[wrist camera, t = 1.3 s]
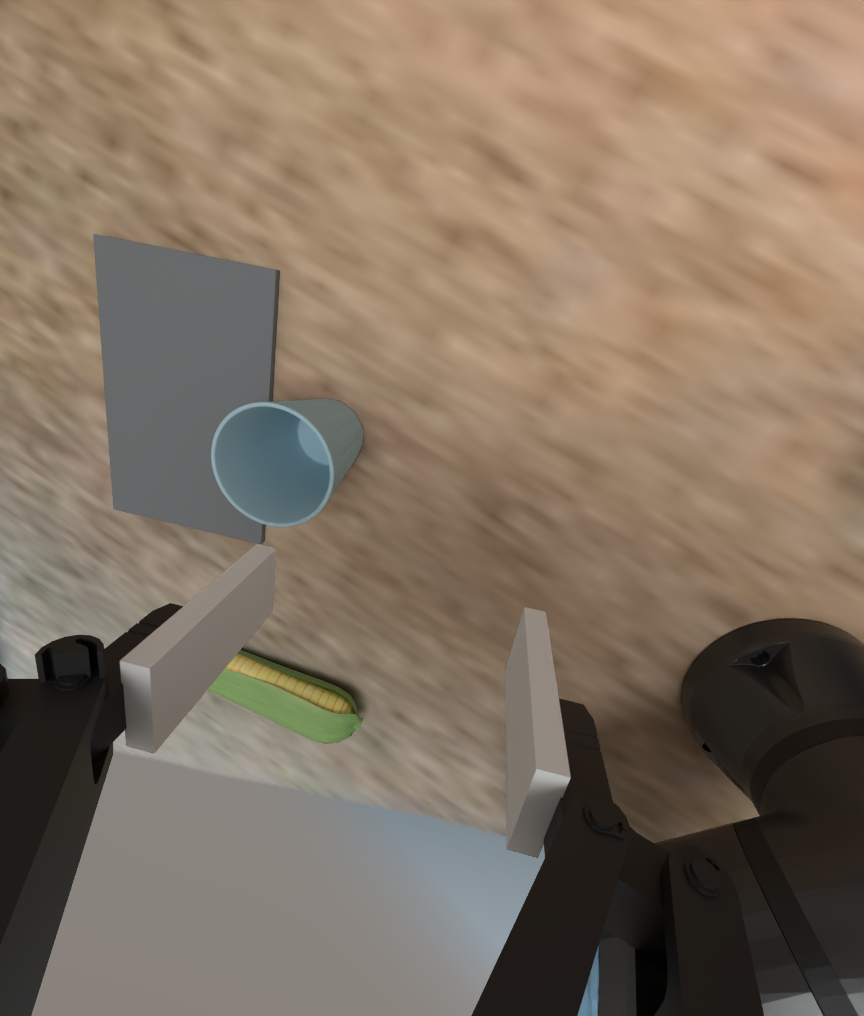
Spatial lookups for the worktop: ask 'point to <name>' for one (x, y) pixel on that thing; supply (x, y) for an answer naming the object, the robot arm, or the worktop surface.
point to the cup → (285, 457)
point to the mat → (180, 375)
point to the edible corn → (289, 698)
